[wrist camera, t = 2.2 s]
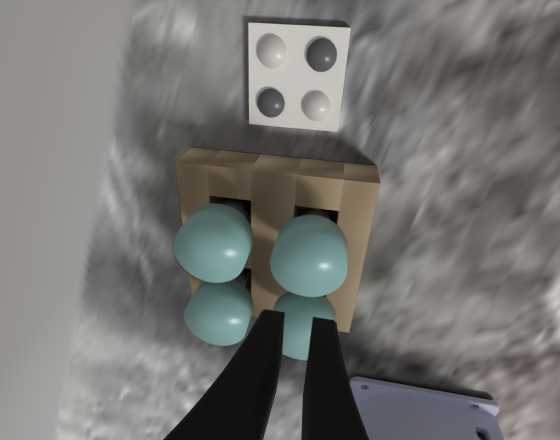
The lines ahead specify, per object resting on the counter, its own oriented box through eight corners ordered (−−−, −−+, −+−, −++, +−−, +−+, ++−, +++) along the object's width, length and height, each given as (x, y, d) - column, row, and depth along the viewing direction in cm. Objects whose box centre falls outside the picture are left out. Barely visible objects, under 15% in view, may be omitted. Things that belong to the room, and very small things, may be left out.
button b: (263, 256, 18) (245, 304, 15) (262, 299, 19) (246, 350, 16) (207, 249, 18) (180, 294, 15) (211, 291, 20) (186, 340, 17)
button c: (352, 197, 15) (353, 240, 12) (343, 251, 17) (341, 301, 14) (285, 189, 16) (270, 230, 13) (282, 243, 17) (269, 291, 14)
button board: (376, 165, 16) (380, 183, 14) (349, 306, 21) (349, 332, 19) (191, 147, 17) (174, 161, 15) (205, 284, 22) (192, 307, 20)
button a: (340, 267, 17) (338, 319, 14) (333, 310, 19) (330, 365, 16) (281, 259, 18) (268, 308, 15) (279, 301, 19) (267, 354, 16)
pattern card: (350, 27, 13) (351, 28, 13) (337, 129, 15) (337, 132, 15) (250, 22, 14) (247, 22, 13) (250, 122, 16) (248, 124, 16)
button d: (264, 187, 16) (244, 226, 13) (263, 240, 17) (245, 287, 14) (201, 180, 16) (168, 217, 13) (206, 233, 18) (177, 277, 15)
